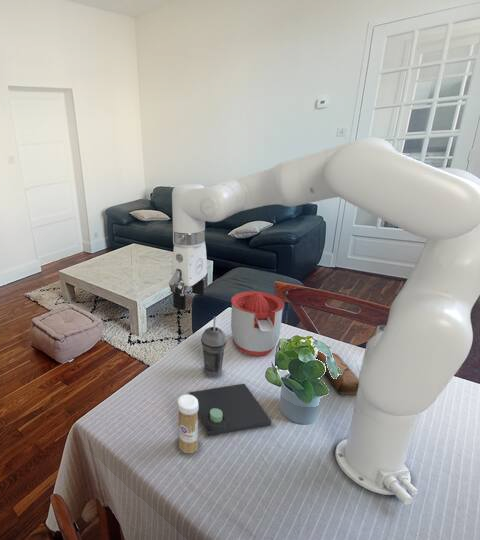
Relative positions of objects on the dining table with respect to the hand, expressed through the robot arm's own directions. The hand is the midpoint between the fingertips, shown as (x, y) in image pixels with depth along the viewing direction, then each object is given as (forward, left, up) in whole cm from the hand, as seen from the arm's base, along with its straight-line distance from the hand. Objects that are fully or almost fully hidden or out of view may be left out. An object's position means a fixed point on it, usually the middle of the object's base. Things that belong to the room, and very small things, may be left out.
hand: (189, 300), depth 87 cm
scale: (-10, -7, -28) cm, 31 cm away
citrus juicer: (+14, -27, -28) cm, 41 cm away
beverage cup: (+5, -9, -28) cm, 30 cm away
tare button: (-15, -2, -25) cm, 29 cm away
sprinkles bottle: (-19, +7, -28) cm, 35 cm away
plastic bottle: (-13, -45, -28) cm, 54 cm away
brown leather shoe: (-3, -43, -28) cm, 51 cm away
